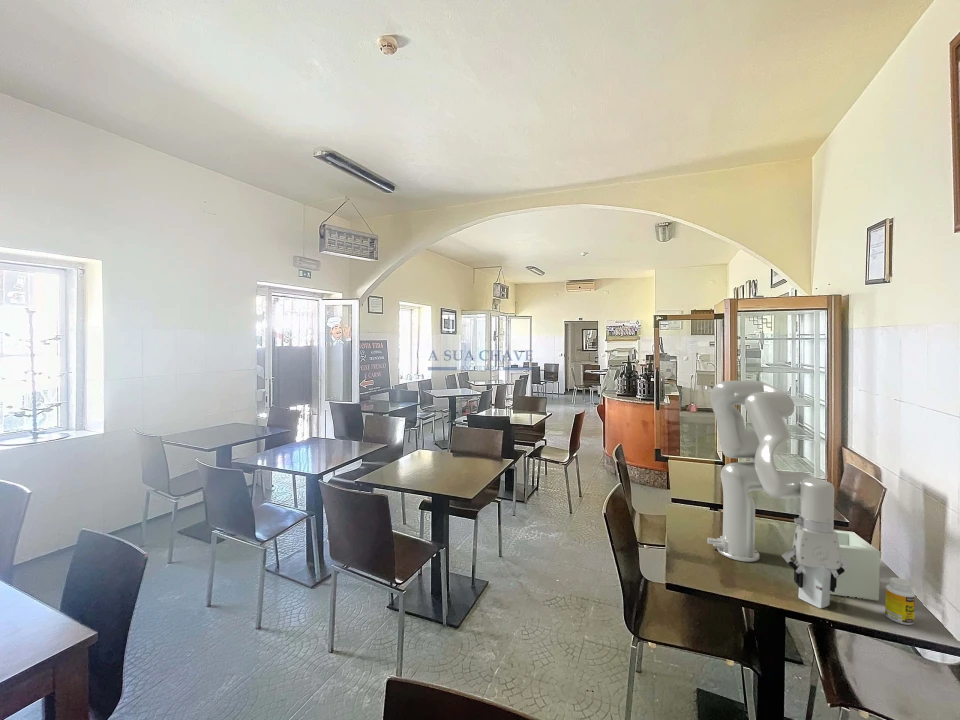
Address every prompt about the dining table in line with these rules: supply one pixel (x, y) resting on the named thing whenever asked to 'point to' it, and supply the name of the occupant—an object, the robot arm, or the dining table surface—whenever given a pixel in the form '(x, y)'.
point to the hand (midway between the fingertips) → (814, 586)
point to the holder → (858, 568)
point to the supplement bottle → (900, 601)
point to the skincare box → (816, 586)
